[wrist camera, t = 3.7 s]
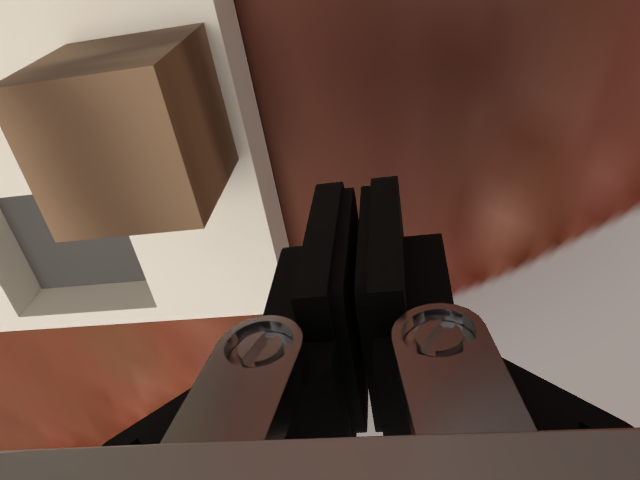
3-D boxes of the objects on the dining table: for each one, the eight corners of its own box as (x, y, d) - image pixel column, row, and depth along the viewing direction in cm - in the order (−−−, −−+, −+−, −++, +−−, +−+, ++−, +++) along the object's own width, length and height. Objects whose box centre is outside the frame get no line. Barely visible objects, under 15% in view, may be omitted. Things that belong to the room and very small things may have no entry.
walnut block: (203, 22, 19) (153, 65, 15) (238, 159, 22) (204, 228, 18) (66, 43, 20) (-18, 89, 16) (116, 173, 23) (55, 242, 18)
